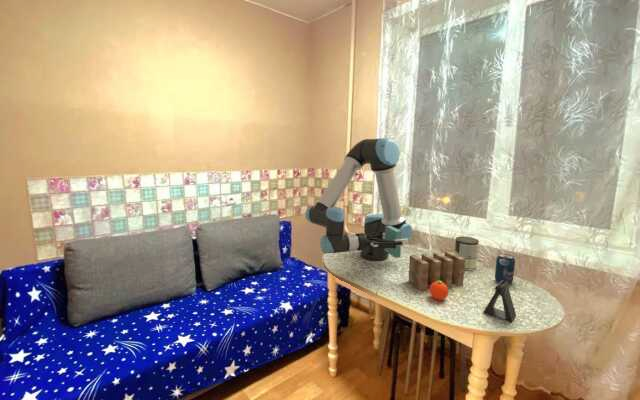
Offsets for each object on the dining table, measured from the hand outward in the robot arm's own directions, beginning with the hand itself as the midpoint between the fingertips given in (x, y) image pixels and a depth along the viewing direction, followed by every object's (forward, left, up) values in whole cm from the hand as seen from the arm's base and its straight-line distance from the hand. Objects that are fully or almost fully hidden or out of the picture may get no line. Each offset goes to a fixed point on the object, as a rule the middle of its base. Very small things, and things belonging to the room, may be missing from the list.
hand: (401, 238), depth 137 cm
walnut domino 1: (+12, +2, -18) cm, 21 cm away
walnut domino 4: (+12, +20, -18) cm, 29 cm away
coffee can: (0, +37, -18) cm, 41 cm away
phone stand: (+40, +17, -18) cm, 47 cm away
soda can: (+19, +41, -18) cm, 48 cm away
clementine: (+24, +4, -18) cm, 30 cm away
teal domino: (0, -4, -7) cm, 8 cm away
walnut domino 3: (+12, +14, -18) cm, 25 cm away
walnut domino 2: (+12, +8, -18) cm, 23 cm away
